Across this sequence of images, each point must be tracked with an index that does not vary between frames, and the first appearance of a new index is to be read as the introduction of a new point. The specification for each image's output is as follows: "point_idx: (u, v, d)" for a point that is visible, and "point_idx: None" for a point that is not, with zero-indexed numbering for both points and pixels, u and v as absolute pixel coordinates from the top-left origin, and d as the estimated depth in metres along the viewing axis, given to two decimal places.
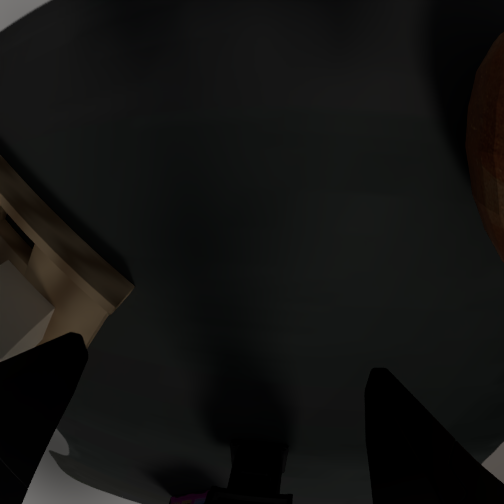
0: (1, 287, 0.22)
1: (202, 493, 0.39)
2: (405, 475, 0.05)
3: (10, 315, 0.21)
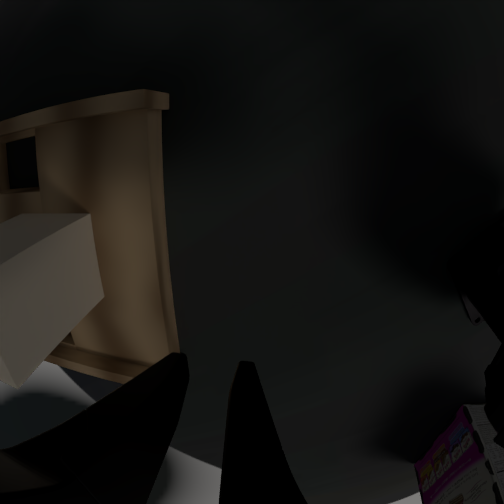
0: (11, 226, 0.17)
1: (453, 422, 0.24)
2: None
3: (21, 235, 0.15)
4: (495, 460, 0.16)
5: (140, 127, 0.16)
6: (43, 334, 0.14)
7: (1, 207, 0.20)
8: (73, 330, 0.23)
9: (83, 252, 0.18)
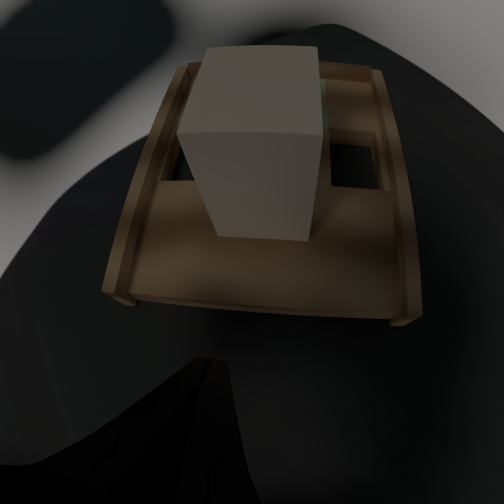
0: None
1: None
2: None
3: None
4: None
5: (384, 304, 0.19)
6: (219, 178, 0.16)
7: None
8: (178, 184, 0.24)
9: (275, 230, 0.20)
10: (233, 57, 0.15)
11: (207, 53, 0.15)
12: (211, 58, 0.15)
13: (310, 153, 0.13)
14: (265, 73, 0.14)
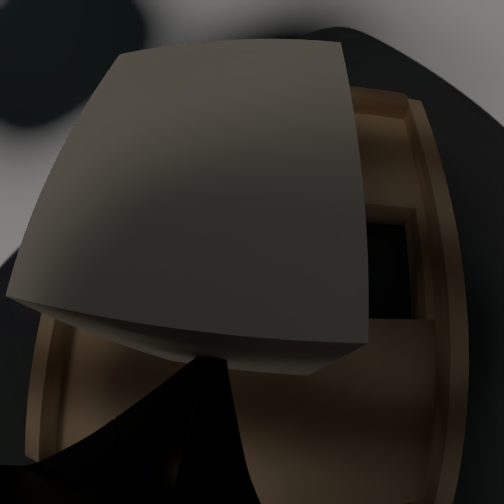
0: None
1: None
2: None
3: None
4: None
5: (402, 495, 0.10)
6: (132, 342, 0.07)
7: None
8: None
9: (254, 370, 0.12)
10: (157, 70, 0.07)
11: (114, 66, 0.07)
12: (116, 76, 0.07)
13: (322, 352, 0.05)
14: (216, 108, 0.06)
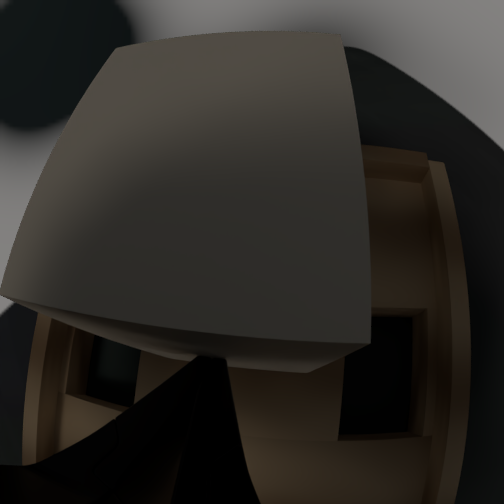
0: None
1: None
2: None
3: None
4: None
5: None
6: (129, 340, 0.07)
7: None
8: (90, 409, 0.13)
9: (254, 367, 0.12)
10: (153, 63, 0.06)
11: (109, 60, 0.07)
12: (111, 70, 0.07)
13: (323, 352, 0.05)
14: (214, 101, 0.06)
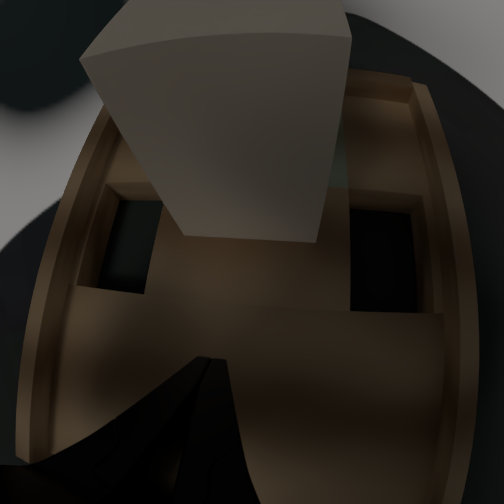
0: None
1: None
2: None
3: None
4: None
5: (407, 498, 0.09)
6: (164, 139, 0.09)
7: (326, 201, 0.15)
8: (99, 296, 0.14)
9: (266, 226, 0.13)
10: None
11: None
12: None
13: (325, 79, 0.06)
14: None
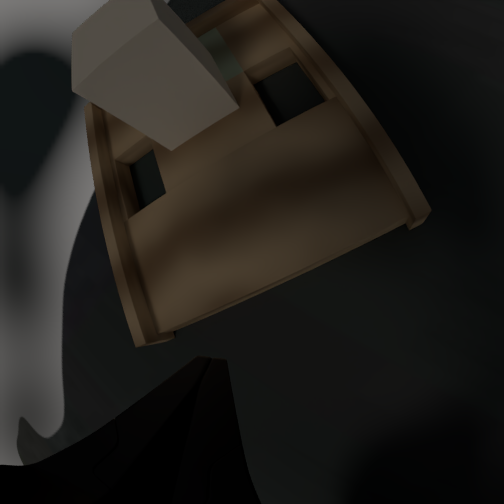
0: (199, 45, 0.20)
1: None
2: None
3: (200, 54, 0.18)
4: None
5: (389, 216, 0.17)
6: (126, 101, 0.16)
7: (235, 85, 0.22)
8: (144, 213, 0.23)
9: (205, 114, 0.21)
10: (89, 24, 0.15)
11: (73, 36, 0.15)
12: (76, 36, 0.15)
13: (164, 36, 0.13)
14: (111, 17, 0.14)
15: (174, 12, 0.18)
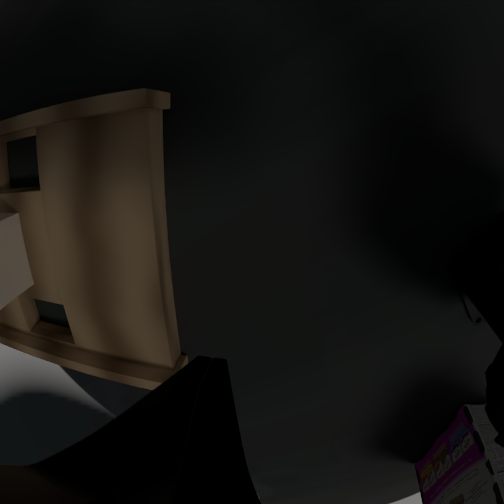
0: None
1: (453, 422, 0.24)
2: None
3: None
4: (495, 461, 0.16)
5: (141, 126, 0.16)
6: None
7: (2, 206, 0.20)
8: (74, 330, 0.23)
9: (12, 245, 0.19)
10: None
11: None
12: None
13: None
14: None
15: None
